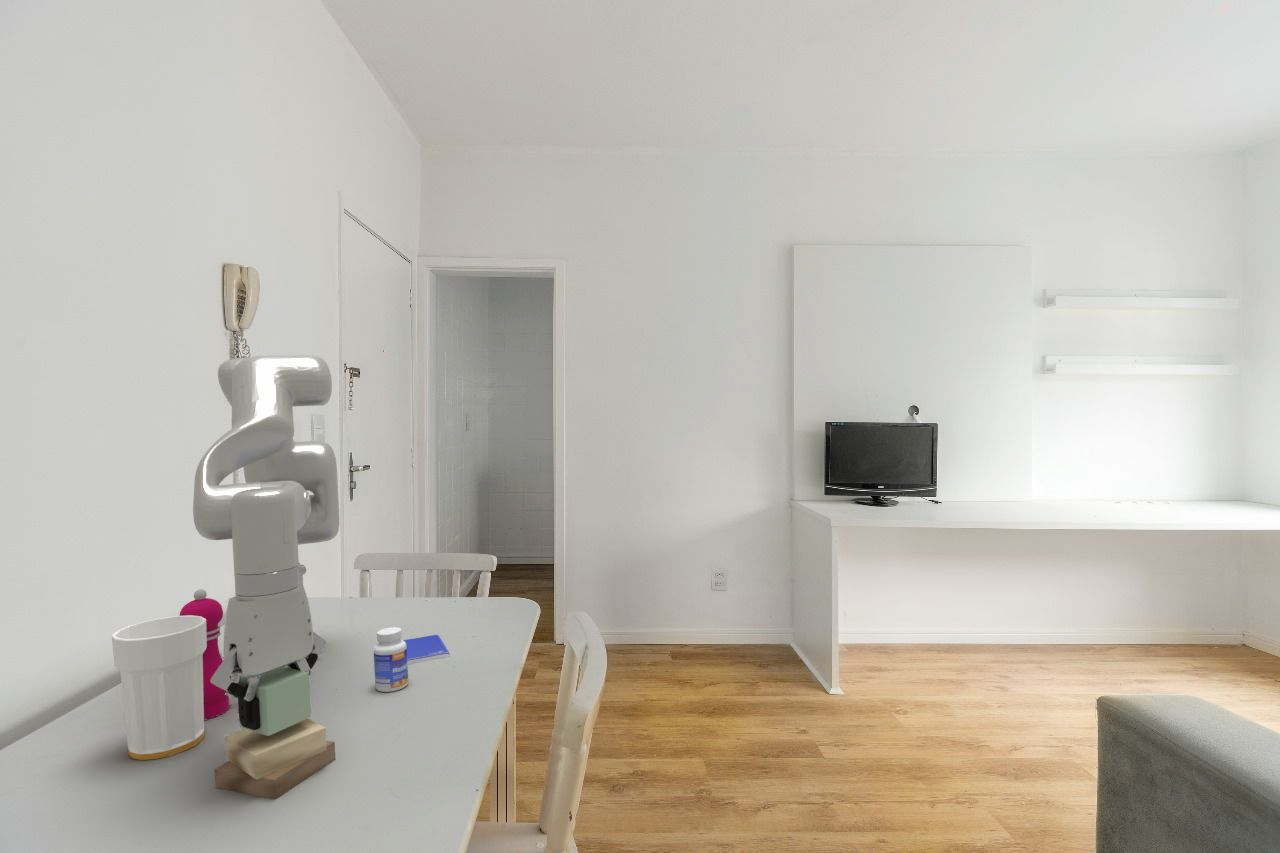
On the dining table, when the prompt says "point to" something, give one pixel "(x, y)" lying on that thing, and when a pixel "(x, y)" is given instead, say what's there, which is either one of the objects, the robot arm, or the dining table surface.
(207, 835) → the dining table surface
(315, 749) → the oak top block
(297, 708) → the sage block
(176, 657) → the cup
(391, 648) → the pill bottle
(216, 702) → the pepper mill
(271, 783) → the walnut base block
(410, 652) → the hard drive
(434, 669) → the dining table surface
